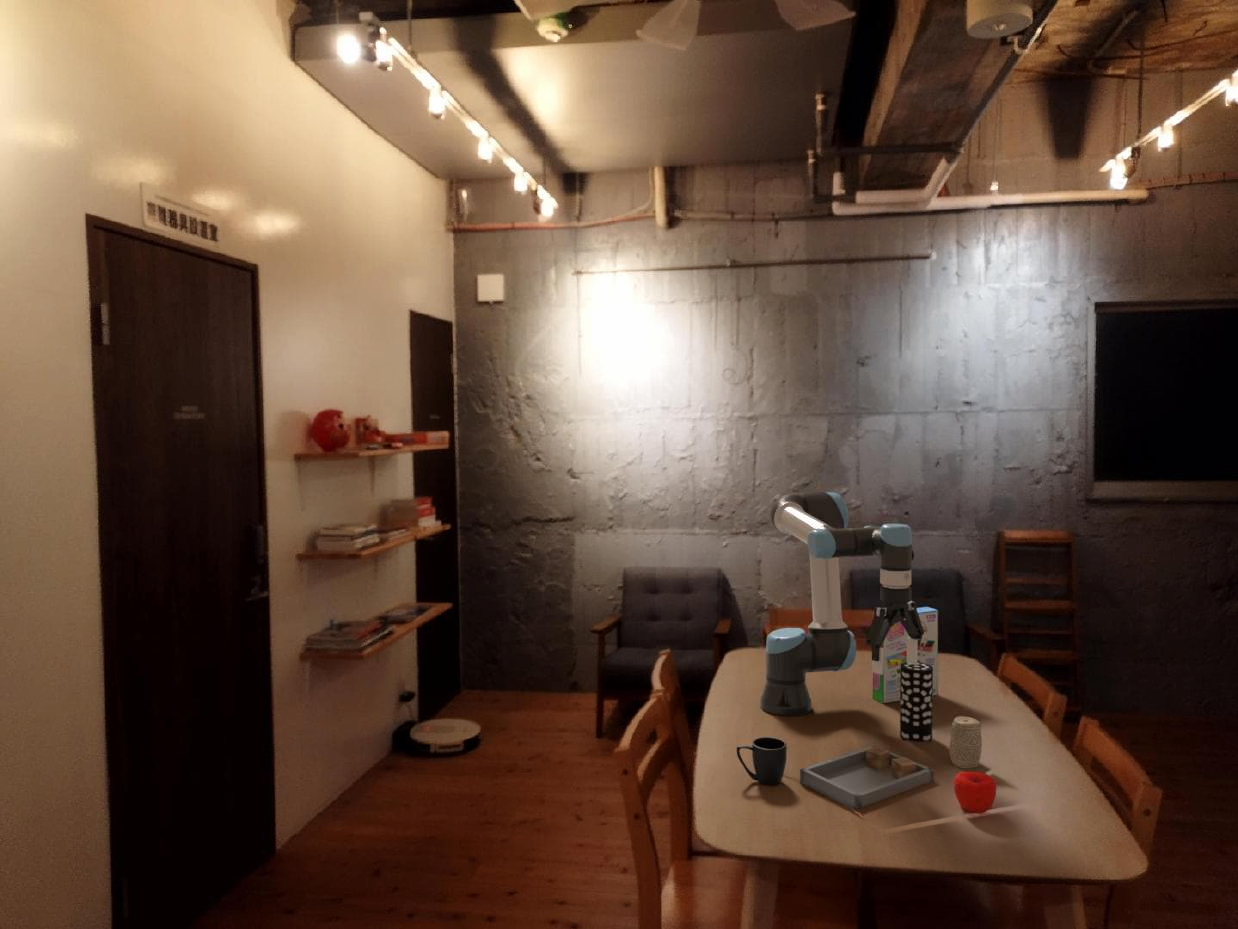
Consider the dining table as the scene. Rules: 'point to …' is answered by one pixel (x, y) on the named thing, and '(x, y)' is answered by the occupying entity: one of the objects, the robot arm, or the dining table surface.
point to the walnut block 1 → (877, 758)
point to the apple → (975, 791)
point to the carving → (965, 742)
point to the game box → (896, 654)
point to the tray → (860, 779)
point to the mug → (767, 760)
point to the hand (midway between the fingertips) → (895, 668)
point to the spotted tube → (916, 701)
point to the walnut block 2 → (902, 767)
